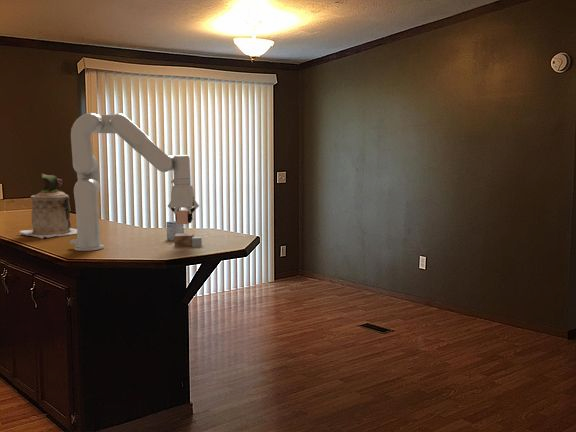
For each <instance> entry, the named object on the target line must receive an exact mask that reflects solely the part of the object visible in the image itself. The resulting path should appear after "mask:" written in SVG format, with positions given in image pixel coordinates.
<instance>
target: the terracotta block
mask: <svg viewBox="0 0 576 432" xmlns="http://www.w3.org/2000/svg"><path fill="white" fill-rule="evenodd" d="M176 214H177V224H184V225H189V224H191V223H192V222H188V214H189V212H188V209H179V210H178V211H176Z"/></svg>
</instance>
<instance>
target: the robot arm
mask: <svg viewBox="0 0 576 432" xmlns="http://www.w3.org/2000/svg"><path fill="white" fill-rule="evenodd" d="M93 134H116V135H117V136H118V137H120V138H121V139H122V140H123V141H124V142H125V143H127V144H128V145H129V146H130V147H131V148H132V149H134V151H135V152H136V153H138V154H140V156H141V157H142V158H144V159H145V160H146V161H147V162H149V164H150V165H152V166H153V167H154V168H155V169H156V170H157V171H159V172H161V173H167V172H170V171H173V179H171V180H170V182H171V183H172V184H173V185H172V186H171V191H170V202H169V203H168V205H167V208H169V210H171V211H172V212H173V213H174V216H175V217H174V218H175V220H174V221H176V222H177V214H176V211H178V210H180V209H181V208H182V209H183V208H187V209H186V210H188V212H189V214H188V222H191V223H192V221H193V219H194V218H193V213H194V212H195V211H196V209H198V208H199V207H200V204H199V203H198V202H197V201H196V200H195V192H194V187H193V185H192V181H191V180H192V179H191V160H190V156H189V155H187V154H178V155H177V154H176V155H169V154H168V155H167V154H166V152H164V151H163V150H162V149H161V148H159V146H157V145H156V143H154V142H153V141H152V140H151V138H150V137H149V136H148V135H147V134H146V133H145V131H143V130H142V129H141V128H139V126H137V125H136V124H135V123H134V122H133V121H132V120H131V119H130V118H129V117H128V116H126V115H125V114H123V113H120V112H119V113H115V114H97V113H94V112H87V113H83V114H82V115H80V116H79V117H78V118H76V119H75V121H74V123H73V124H72V126H71V129H70V142H71V155H72V156H71V157H72V168H73V169H74V171H75V173H76V177H77V181H76V182H75V184H74V187H73V194H74V195H73V196H74V204H75V219H76V229H77V234H76V236H77V238H76V239H70V242H69V244H71V245H75V246H74V247H73V248H74V251H78V252H93V251H97V250H98V251H100V250H103V249H104V248H105V245H104V244H101V231H100V229H101V228H100V212H99V210H100V209H99V200H98V194H99V193H100V190H101V181H100V171H99V170H100V169H99V163H98V159H97V157H96V156H95V155H94V154H93V153H94V151H93V143H92V135H93Z"/></svg>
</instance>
